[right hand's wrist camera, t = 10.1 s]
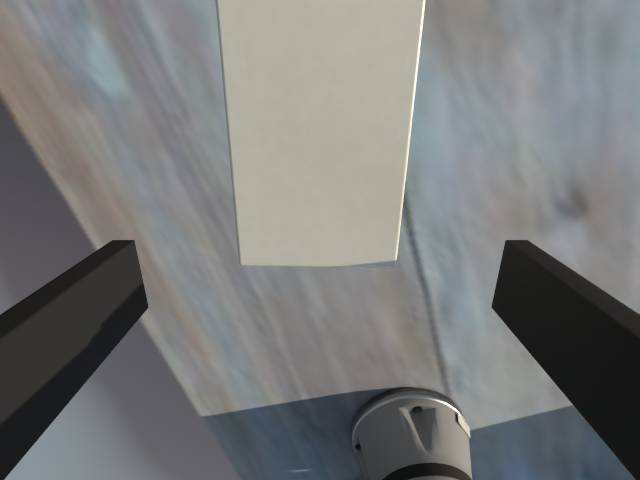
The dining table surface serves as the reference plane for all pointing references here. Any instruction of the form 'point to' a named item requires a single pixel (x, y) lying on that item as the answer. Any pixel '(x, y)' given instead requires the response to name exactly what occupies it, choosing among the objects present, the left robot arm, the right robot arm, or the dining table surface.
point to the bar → (319, 126)
